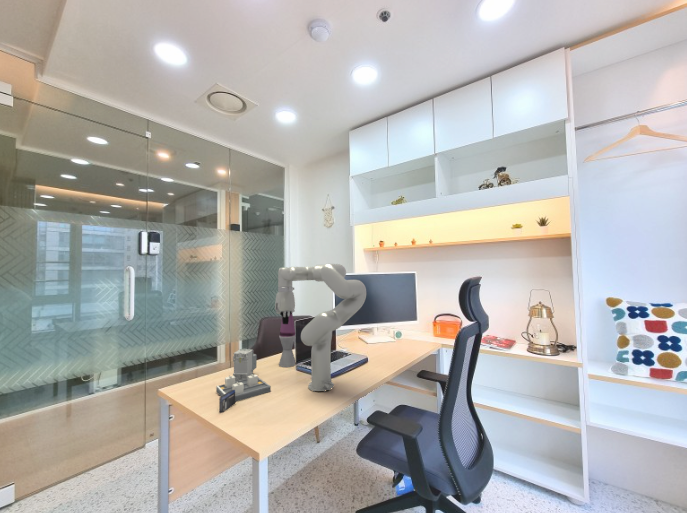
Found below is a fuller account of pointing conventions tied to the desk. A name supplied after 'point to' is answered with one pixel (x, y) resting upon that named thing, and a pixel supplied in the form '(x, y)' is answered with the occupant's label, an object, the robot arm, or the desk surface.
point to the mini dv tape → (226, 401)
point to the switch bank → (246, 389)
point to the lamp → (287, 343)
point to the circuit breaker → (244, 363)
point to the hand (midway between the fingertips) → (285, 323)
